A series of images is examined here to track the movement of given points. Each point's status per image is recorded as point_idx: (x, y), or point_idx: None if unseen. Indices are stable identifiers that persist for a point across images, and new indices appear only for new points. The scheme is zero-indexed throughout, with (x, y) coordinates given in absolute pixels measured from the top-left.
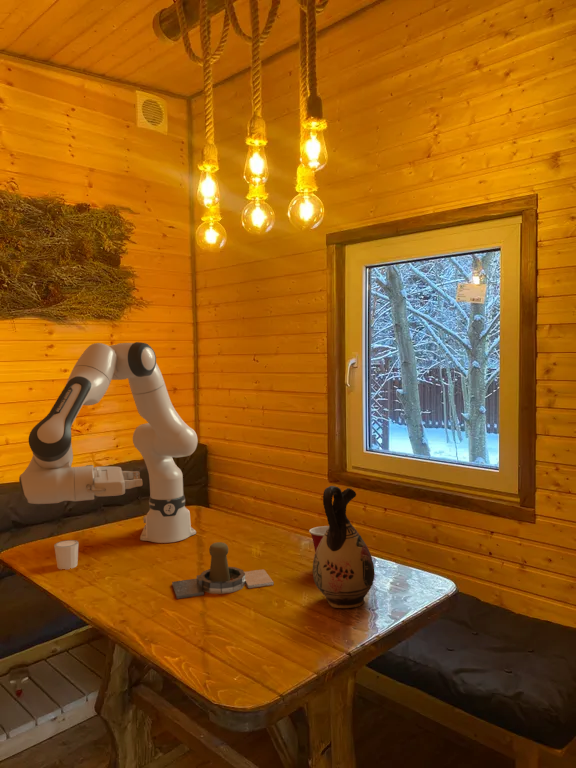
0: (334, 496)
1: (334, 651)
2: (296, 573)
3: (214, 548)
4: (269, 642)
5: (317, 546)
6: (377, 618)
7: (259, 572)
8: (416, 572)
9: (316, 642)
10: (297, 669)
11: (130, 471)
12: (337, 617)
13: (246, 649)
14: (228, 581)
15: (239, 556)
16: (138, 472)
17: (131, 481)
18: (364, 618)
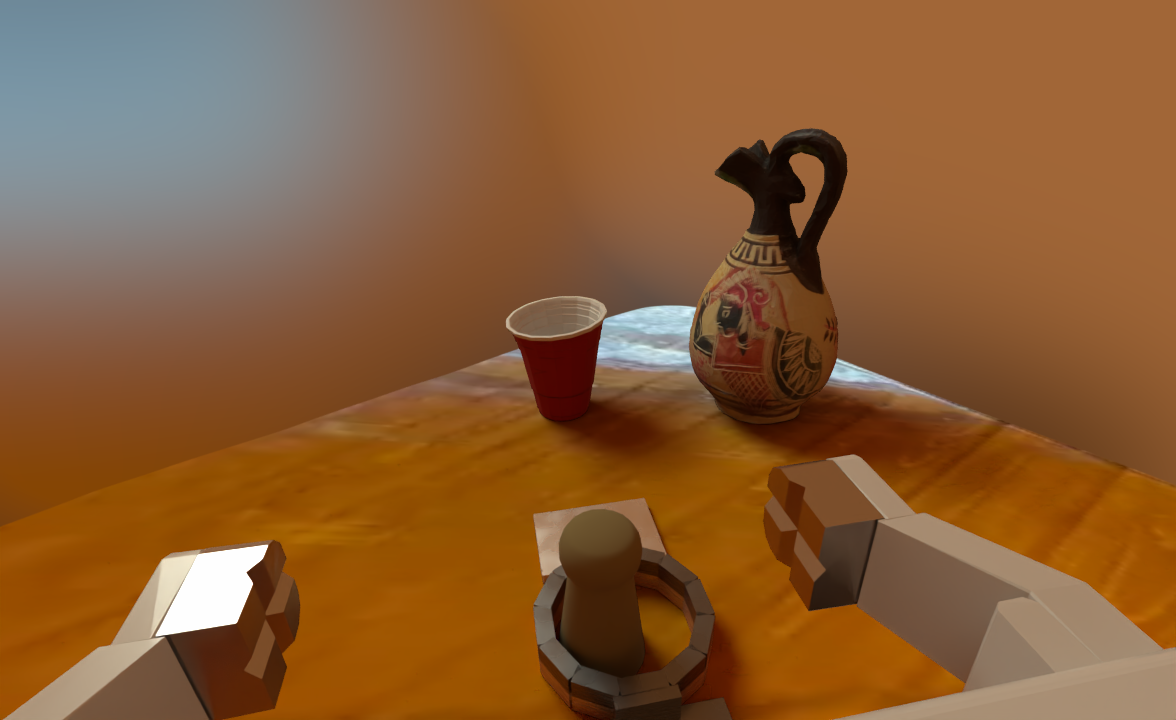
0: (782, 163)
1: (1007, 436)
2: (568, 458)
3: (632, 548)
4: (1029, 530)
5: (578, 361)
6: (830, 377)
7: (558, 525)
8: (612, 321)
9: (980, 456)
10: (1133, 491)
11: (48, 690)
12: (840, 419)
13: (1102, 578)
14: (693, 591)
15: (347, 581)
16: (270, 543)
17: (1012, 565)
18: (835, 390)
